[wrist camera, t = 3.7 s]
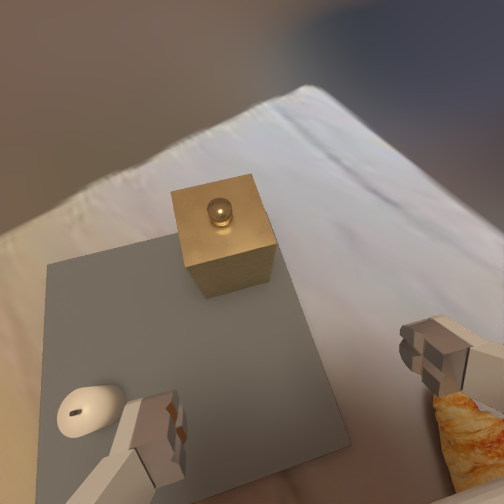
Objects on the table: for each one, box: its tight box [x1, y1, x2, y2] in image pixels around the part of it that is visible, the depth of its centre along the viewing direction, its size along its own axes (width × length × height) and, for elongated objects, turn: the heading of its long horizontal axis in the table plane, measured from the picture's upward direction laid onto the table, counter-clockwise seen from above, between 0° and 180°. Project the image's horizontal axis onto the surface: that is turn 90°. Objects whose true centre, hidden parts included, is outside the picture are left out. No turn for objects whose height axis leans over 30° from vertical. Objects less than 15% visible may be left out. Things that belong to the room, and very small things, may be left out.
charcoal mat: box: [35, 211, 352, 504], centre depth 22 cm, size 21×22×1 cm
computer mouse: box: [57, 384, 126, 438], centre depth 18 cm, size 3×3×4 cm
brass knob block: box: [171, 174, 277, 299], centre depth 21 cm, size 6×6×9 cm
